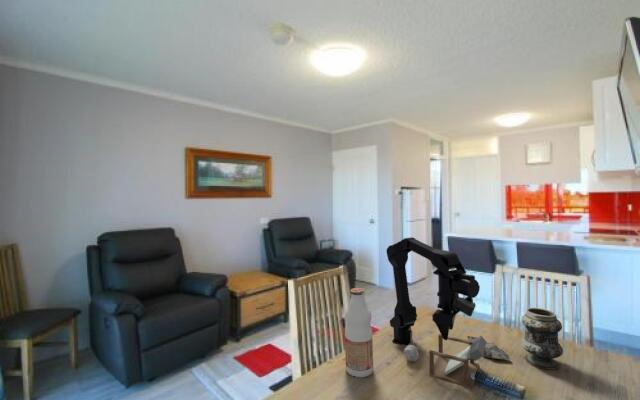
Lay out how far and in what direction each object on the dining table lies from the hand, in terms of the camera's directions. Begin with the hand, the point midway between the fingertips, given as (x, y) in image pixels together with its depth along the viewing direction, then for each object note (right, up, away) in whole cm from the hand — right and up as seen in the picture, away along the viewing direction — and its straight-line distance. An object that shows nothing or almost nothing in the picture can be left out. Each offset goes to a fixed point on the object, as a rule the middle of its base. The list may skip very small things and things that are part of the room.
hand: (448, 334), depth 107 cm
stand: (+2, -12, -1) cm, 12 cm away
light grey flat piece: (+5, -7, -3) cm, 9 cm away
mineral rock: (+19, -12, +10) cm, 24 cm away
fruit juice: (-30, -13, +1) cm, 33 cm away
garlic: (-13, -10, +7) cm, 18 cm away
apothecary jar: (+34, -11, +3) cm, 36 cm away
